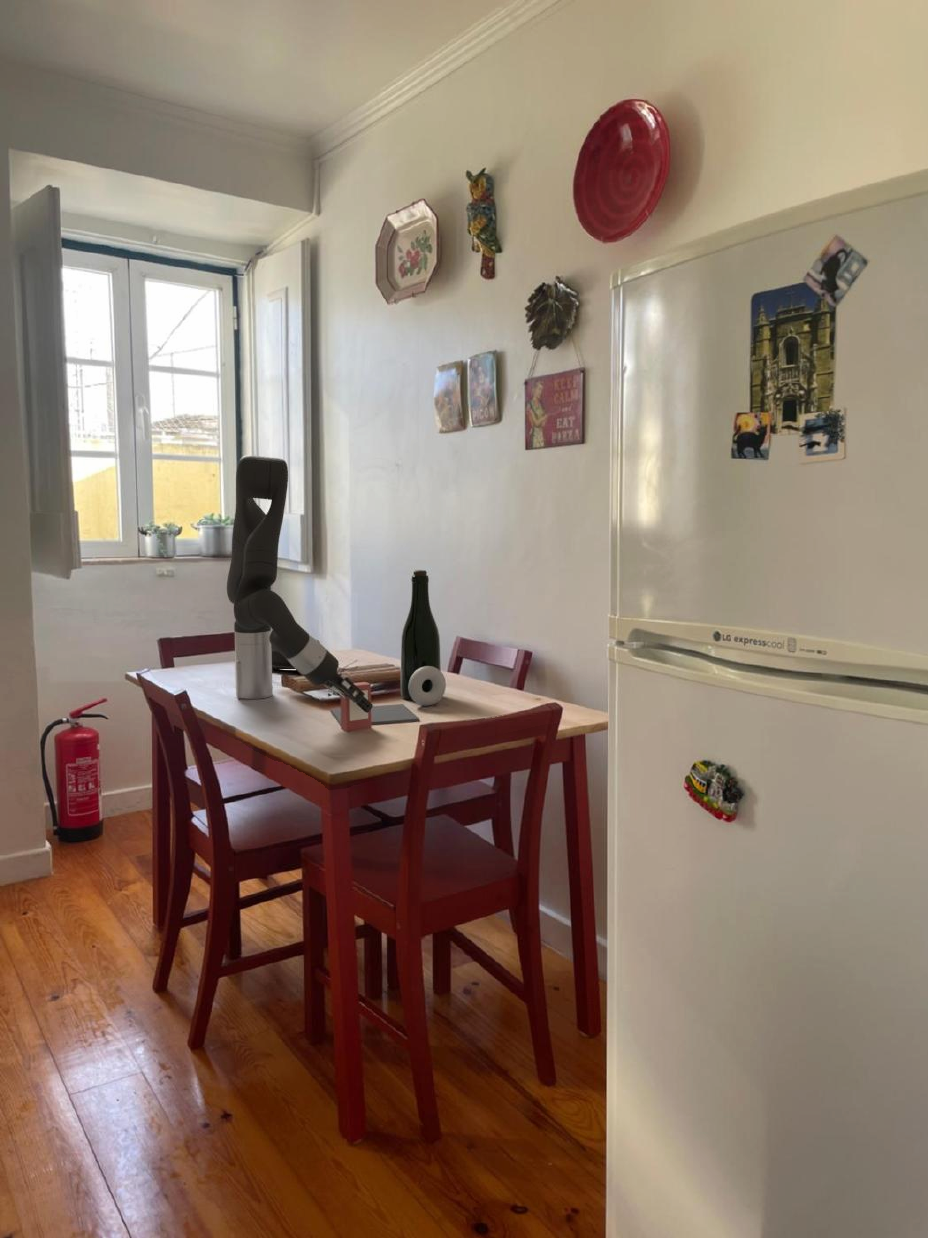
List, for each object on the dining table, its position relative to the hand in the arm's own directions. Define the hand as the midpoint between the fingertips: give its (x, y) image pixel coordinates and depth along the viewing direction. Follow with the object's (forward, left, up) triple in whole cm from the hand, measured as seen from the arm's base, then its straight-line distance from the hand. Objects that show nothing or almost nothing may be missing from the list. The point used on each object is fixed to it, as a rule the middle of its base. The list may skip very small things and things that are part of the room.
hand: (361, 705), depth 200 cm
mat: (+5, +10, -5) cm, 12 cm away
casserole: (-5, +80, -5) cm, 80 cm away
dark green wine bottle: (+21, +27, -5) cm, 34 cm away
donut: (+20, +17, -5) cm, 26 cm away
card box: (-1, -1, -5) cm, 5 cm away
